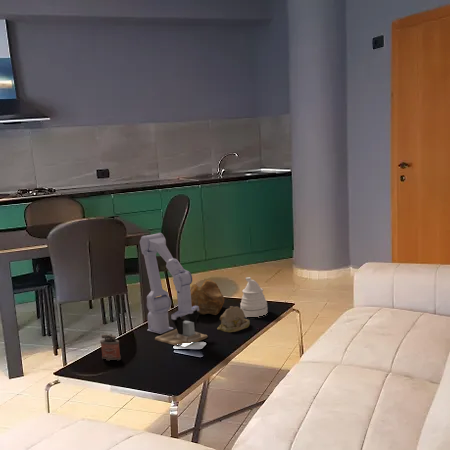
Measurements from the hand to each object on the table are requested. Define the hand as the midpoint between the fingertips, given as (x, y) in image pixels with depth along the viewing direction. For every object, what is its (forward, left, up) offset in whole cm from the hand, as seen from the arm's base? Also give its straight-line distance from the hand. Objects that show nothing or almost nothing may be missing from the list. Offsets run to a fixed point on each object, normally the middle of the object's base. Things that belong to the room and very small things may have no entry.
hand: (187, 331), depth 236 cm
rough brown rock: (-19, +34, -4) cm, 39 cm away
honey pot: (+2, +43, -4) cm, 43 cm away
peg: (+1, 0, -3) cm, 3 cm away
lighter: (-12, -31, -4) cm, 34 cm away
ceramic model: (+6, +23, -4) cm, 24 cm away
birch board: (-4, 0, -4) cm, 6 cm away
